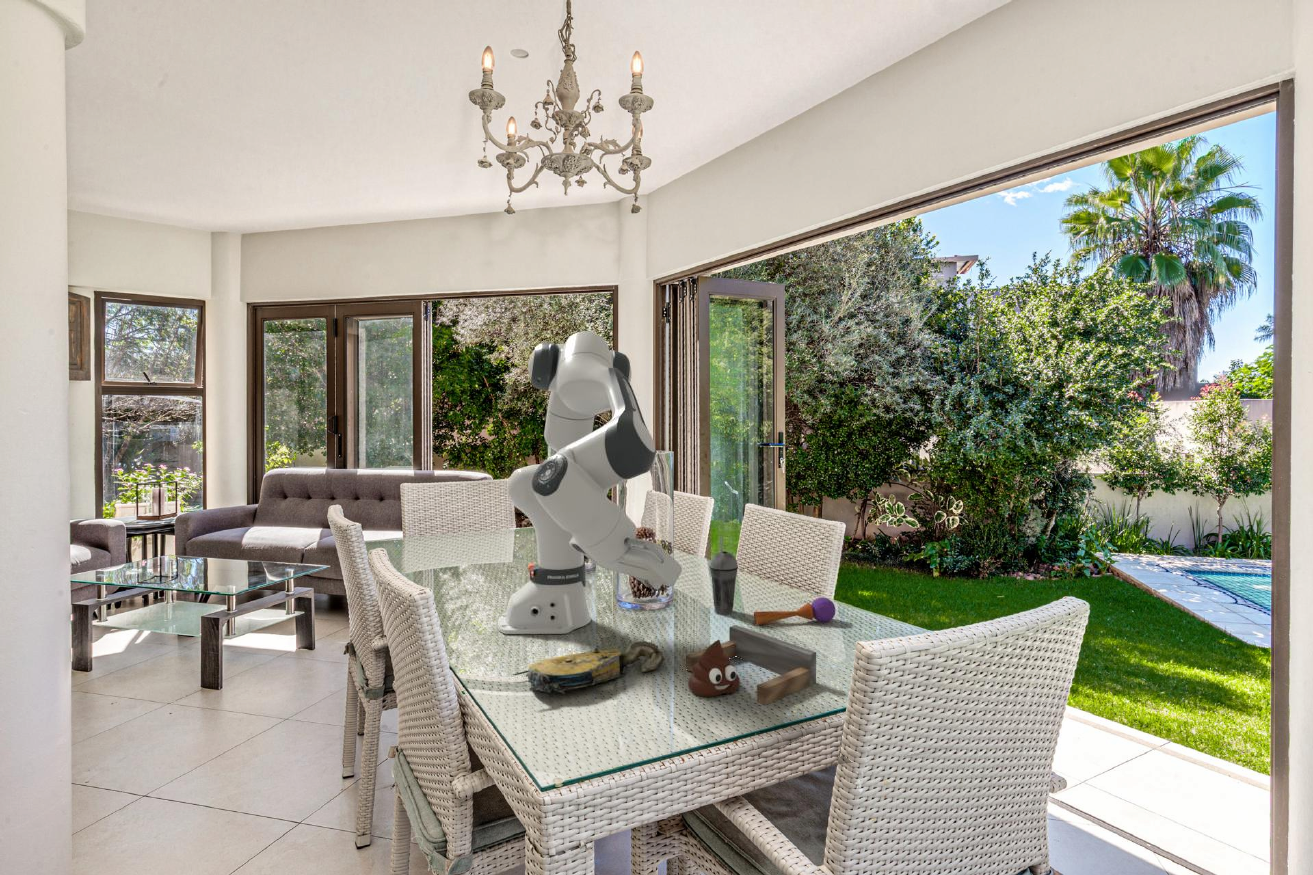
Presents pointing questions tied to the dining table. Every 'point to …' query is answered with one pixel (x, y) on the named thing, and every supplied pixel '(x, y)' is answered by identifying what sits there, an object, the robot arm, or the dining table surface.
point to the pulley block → (590, 667)
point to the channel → (768, 662)
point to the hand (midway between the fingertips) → (655, 584)
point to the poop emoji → (713, 673)
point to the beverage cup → (723, 580)
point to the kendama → (800, 612)
